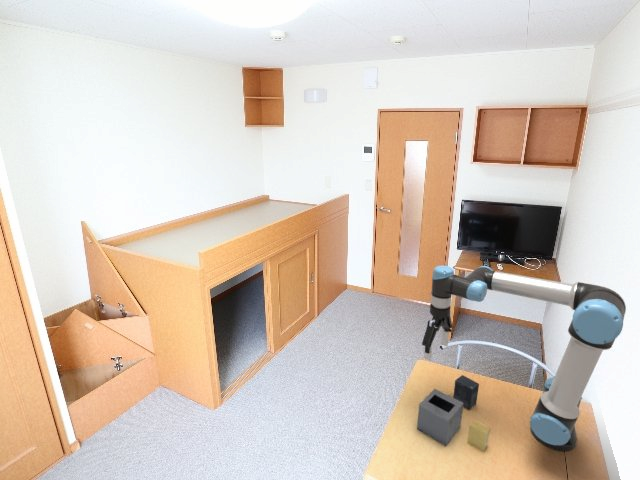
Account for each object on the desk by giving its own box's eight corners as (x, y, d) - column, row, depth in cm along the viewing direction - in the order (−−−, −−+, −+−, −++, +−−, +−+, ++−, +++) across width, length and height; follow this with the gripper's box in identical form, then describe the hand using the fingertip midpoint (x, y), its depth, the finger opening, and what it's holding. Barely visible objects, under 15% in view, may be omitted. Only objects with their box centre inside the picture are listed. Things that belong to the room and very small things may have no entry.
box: (476, 404, 163) (479, 383, 160) (469, 410, 159) (472, 389, 156) (459, 394, 169) (462, 374, 165) (452, 400, 165) (455, 379, 162)
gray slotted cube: (460, 428, 150) (463, 403, 147) (445, 446, 142) (449, 420, 139) (432, 412, 158) (434, 388, 155) (416, 429, 150) (419, 403, 146)
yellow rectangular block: (487, 446, 142) (490, 428, 140) (483, 451, 140) (486, 434, 137) (471, 437, 146) (473, 420, 144) (467, 442, 144) (469, 425, 141)
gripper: (446, 291, 161) (442, 336, 168) (414, 312, 144) (411, 361, 151) (463, 297, 156) (458, 343, 163) (433, 319, 139) (428, 369, 146)
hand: (436, 351), depth 157 cm, fingers open, 13 cm apart
